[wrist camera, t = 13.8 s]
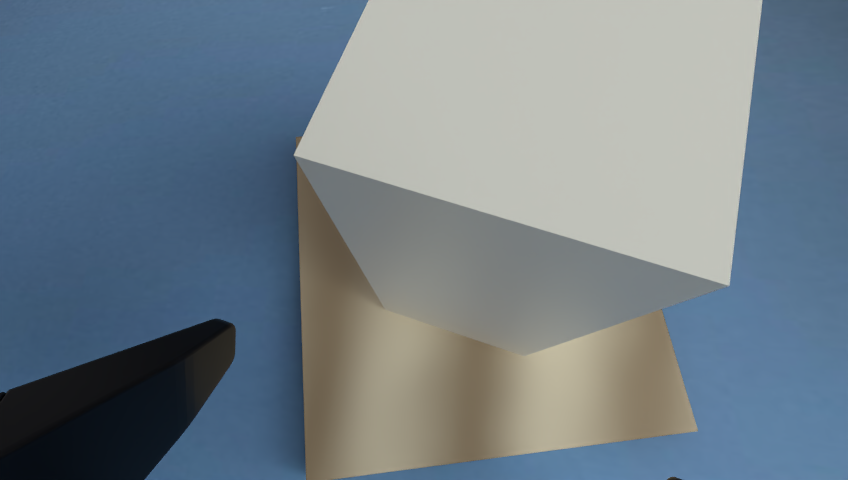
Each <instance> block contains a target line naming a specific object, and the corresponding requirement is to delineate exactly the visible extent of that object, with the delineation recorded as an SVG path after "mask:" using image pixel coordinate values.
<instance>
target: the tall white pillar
mask: <svg viewBox="0 0 848 480" xmlns="http://www.w3.org/2000/svg"><path fill="white" fill-rule="evenodd" d="M761 8H762V0H369V1H368V3H367V5H366V7H365V9H364V11H363V13H362V15H361V18H360V20H359V22H358V24H357V26H356V28H355V30H354V32H353V34H352V36H351V38H350V40H349V42H348V44H347V46H346V48H345V50H344V52H343V55H342V57H341V59H340V61H339V63H338V65H337V67H336V69H335V71H334V73H333V75H332V77H331V79H330V81H329V83H328V85H327V87H326V90H325V92H324V94H323V96H322V98H321V100H320V102H319V104H318V106H317V108H316V110H315V112H314V114H313V116H312V118H311V120H310V122H309V125H308V127H307V129H306V131H305V133H304V135H303V137H302V139H301V141H300V143H299V145H298V147H297V149H296V151H295V153H294V157H295V159H296V160H297V162H298V164H299V165H300V167H301V169H302V170H303V172H304V174H305V175H306V177H307V179H308V180H309V182H310V184H311V185H312V187H313V189H314V191H315V192H316V194H317V196H318V197H319V199H320V201H321V202H322V204H323V206H324V207H325V209H326V211H327V212H328V214H329V216H330V217H331V219H332V221H333V223H334V224H335V226H336V228H337V229H338V231H339V233H340V234H341V236H342V238H343V239H344V241H345V243H346V244H347V246H348V248H349V249H350V251H351V253H352V255H353V256H354V258H355V260H356V261H357V263H358V265H359V266H360V268H361V270H362V271H363V273H364V275H365V276H366V278H367V280H368V282H369V283H370V285H371V287H372V288H373V290H374V292H375V293H376V295H377V297H378V298H379V300H380V302H381V303H382V305H383V307H384V308H385V310H388V311H391V312H394V313H397V314H400V315H402V316H405V317H408V318H411V319H414V320H417V321H420V322H423V323H426V324H429V325H432V326H435V327H438V328H441V329H444V330H447V331H450V332H453V333H456V334H459V335H462V336H465V337H468V338H471V339H474V340H477V341H480V342H483V343H486V344H489V345H492V346H495V347H498V348H501V349H504V350H507V351H509V352H512V353H515V354H518V355H521V356H527V355H529V354H532V353H535V352H538V351H541V350H544V349H547V348H550V347H553V346H556V345H559V344H561V343H564V342H567V341H570V340H573V339H576V338H579V337H582V336H585V335H588V334H591V333H594V332H596V331H599V330H602V329H605V328H608V327H611V326H614V325H617V324H620V323H623V322H626V321H628V320H631V319H634V318H637V317H640V316H643V315H646V314H649V313H652V312H655V311H658V310H660V309H663V308H666V307H669V306H672V305H675V304H678V303H681V302H684V301H687V300H690V299H692V298H695V297H698V296H701V295H704V294H707V293H710V292H713V291H716V290H719V289H722V288H725V287H727V286H729V284H730V275H731V267H732V258H733V249H734V241H735V232H736V224H737V215H738V206H739V198H740V189H741V180H742V172H743V163H744V155H745V146H746V137H747V129H748V120H749V111H750V103H751V94H752V86H753V77H754V68H755V60H756V51H757V42H758V34H759V25H760V17H761Z"/></svg>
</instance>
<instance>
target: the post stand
mask: <svg viewBox="0 0 848 480" xmlns="http://www.w3.org/2000/svg"><path fill="white" fill-rule="evenodd" d="M302 137H303V136H302ZM302 137H296V149H297V147H298V145H299V143H300V141H301V139H302ZM297 189H298V223H299V257H300V290H301V324H302V357H303V391H304V425H305V458H306V480H332V479H339V478H347V477H354V476H362V475H369V474H377V473H385V472H392V471H400V470H407V469H415V468H422V467H430V466H438V465H445V464H453V463H460V462H468V461H475V460H483V459H490V458H498V457H506V456H513V455H521V454H528V453H536V452H543V451H551V450H559V449H566V448H574V447H581V446H589V445H596V444H604V443H611V442H619V441H627V440H634V439H642V438H649V437H657V436H664V435H672V434H680V433H687V432H695V431H698V429H697V426H696V423H695V419H694V416H693V413H692V409H691V406H690V403H689V399H688V396H687V393H686V389H685V386H684V383H683V379H682V376H681V373H680V369H679V366H678V363H677V359H676V356H675V352H674V349H673V346H672V342H671V339H670V336H669V332H668V329H667V326H666V322H665V319H664V316H663V312H662V309H660V310H658V311H655V312H652V313H649V314H646V315H643V316H640V317H637V318H634V319H631V320H628V321H626V322H623V323H620V324H617V325H614V326H611V327H608V328H605V329H602V330H599V331H596V332H594V333H591V334H588V335H585V336H582V337H579V338H576V339H573V340H570V341H567V342H564V343H561V344H559V345H556V346H553V347H550V348H547V349H544V350H541V351H538V352H535V353H532V354H529V355H527V356H521V355H518V354H515V353H512V352H509V351H507V350H504V349H501V348H498V347H495V346H492V345H489V344H486V343H483V342H480V341H477V340H474V339H471V338H468V337H465V336H462V335H459V334H456V333H453V332H450V331H447V330H444V329H441V328H438V327H435V326H432V325H429V324H426V323H423V322H420V321H417V320H414V319H411V318H408V317H405V316H402V315H400V314H397V313H394V312H391V311H388V310H385V308H384V307H383V305H382V303H381V302H380V300H379V298H378V297H377V295H376V293H375V292H374V290H373V288H372V287H371V285H370V283H369V282H368V280H367V278H366V276H365V275H364V273H363V271H362V270H361V268H360V266H359V265H358V263H357V261H356V260H355V258H354V256H353V255H352V253H351V251H350V249H349V248H348V246H347V244H346V243H345V241H344V239H343V238H342V236H341V234H340V233H339V231H338V229H337V228H336V226H335V224H334V223H333V221H332V219H331V217H330V216H329V214H328V212H327V211H326V209H325V207H324V206H323V204H322V202H321V201H320V199H319V197H318V196H317V194H316V192H315V191H314V189H313V187H312V185H311V184H310V182H309V180H308V179H307V177H306V175H305V174H304V172H303V170H302V169H301V167H300V165H299V164H298V162H297Z"/></svg>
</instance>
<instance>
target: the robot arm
mask: <svg viewBox="0 0 848 480" xmlns="http://www.w3.org/2000/svg"><path fill="white" fill-rule="evenodd" d="M235 335H236V329H235V326H234V325H233V324H232V323H229V322H227V321H224V320H221V319H212V320H209V321H206V322H203V323H200V324H197V325H195V326H192V327H189V328H186V329H183V330H180V331H177V332H174V333H171V334H169V335H166V336H163V337H160V338H157V339H154V340H151V341H148V342H146V343H143V344H140V345H137V346H134V347H131V348H128V349H125V350H123V351H120V352H117V353H114V354H111V355H108V356H105V357H102V358H99V359H97V360H94V361H91V362H88V363H85V364H82V365H79V366H76V367H74V368H71V369H68V370H65V371H62V372H59V373H56V374H53V375H50V376H48V377H45V378H42V379H39V380H36V381H33V382H30V383H27V384H25V385H22V386H19V387H16V388H13V389H10V390H8V392H7V393H5V392H1V393H0V480H144V479H145V478H146V477H147V476H148V475H149V473H150V472H151V471H152V470H153V469H154V467H155V466H156V465H157V464H158V463H159V461H160V460H161V459H162V458H163V457H164V455H165V454H166V453H167V452H168V451H169V450H170V448H171V447H172V446H173V445H174V444H175V442H176V441H177V440H178V439H179V438H180V436H181V435H182V434H183V433H184V431H185V430H186V429H187V428H188V426H189V425H190V423H191V422H192V421H193V419H194V418H195V416H196V415H197V414H198V412H199V411H200V409H201V408H202V406H203V405H204V403H205V402H206V400H207V399H208V397H209V396H210V394H211V393H212V392H213V390H214V389H215V387H216V386H217V384H218V383H219V381H220V380H221V378H222V377H223V375H224V374H225V372H226V371H227V370H228V368H229V367H230V365H231V363H232V361H233V359H234V356H235ZM667 480H682V479H679V478H676V477H670V478H668V479H667Z"/></svg>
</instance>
